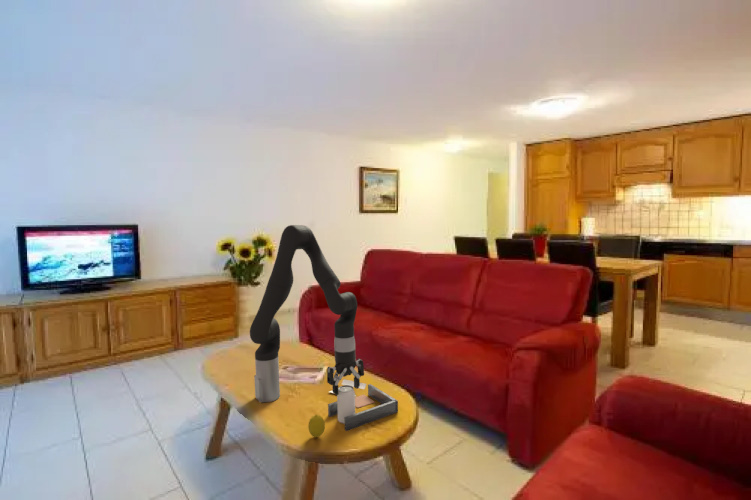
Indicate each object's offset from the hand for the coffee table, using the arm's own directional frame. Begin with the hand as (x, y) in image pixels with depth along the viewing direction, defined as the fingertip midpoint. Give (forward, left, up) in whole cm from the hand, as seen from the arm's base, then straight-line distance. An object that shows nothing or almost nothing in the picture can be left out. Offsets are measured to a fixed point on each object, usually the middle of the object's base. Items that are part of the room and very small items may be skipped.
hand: (346, 391), depth 147 cm
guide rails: (+7, +2, -11) cm, 13 cm away
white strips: (+13, +21, -12) cm, 27 cm away
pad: (+12, +9, -11) cm, 19 cm away
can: (0, 0, -11) cm, 11 cm away
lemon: (-14, -4, -11) cm, 18 cm away
